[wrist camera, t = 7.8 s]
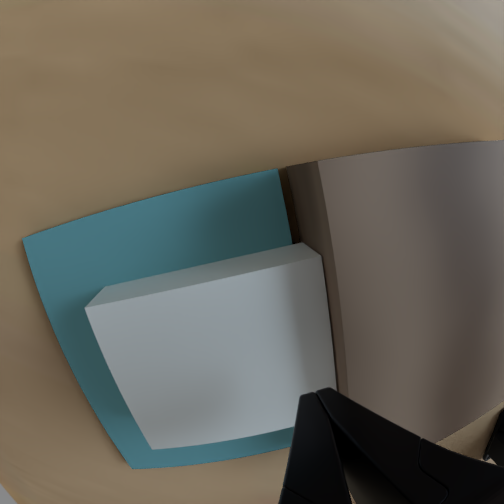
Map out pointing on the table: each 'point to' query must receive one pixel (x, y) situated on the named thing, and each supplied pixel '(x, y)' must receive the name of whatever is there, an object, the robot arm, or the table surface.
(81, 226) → the mat
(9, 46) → the table surface
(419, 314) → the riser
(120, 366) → the tile
